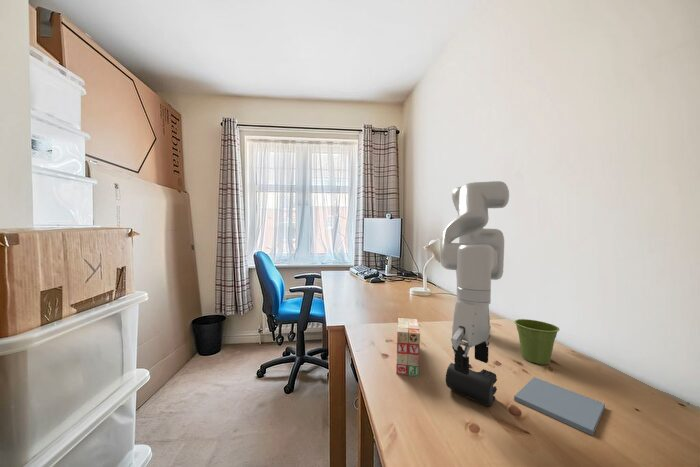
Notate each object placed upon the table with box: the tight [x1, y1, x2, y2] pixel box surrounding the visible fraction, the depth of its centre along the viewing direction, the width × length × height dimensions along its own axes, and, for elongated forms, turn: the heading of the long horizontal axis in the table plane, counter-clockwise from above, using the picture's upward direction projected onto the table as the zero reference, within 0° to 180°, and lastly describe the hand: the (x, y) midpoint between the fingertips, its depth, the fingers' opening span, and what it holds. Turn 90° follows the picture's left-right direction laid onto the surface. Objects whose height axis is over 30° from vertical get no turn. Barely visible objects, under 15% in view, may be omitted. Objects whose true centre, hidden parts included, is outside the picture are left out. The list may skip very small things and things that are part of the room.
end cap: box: [445, 362, 498, 407], centre depth 64 cm, size 10×7×7 cm
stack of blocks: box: [395, 317, 421, 378], centre depth 84 cm, size 21×6×12 cm, turn 169°
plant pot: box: [513, 318, 560, 365], centre depth 84 cm, size 12×12×11 cm
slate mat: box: [513, 376, 606, 437], centre depth 62 cm, size 14×14×1 cm
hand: (471, 366), depth 64 cm, fingers open, 9 cm apart
